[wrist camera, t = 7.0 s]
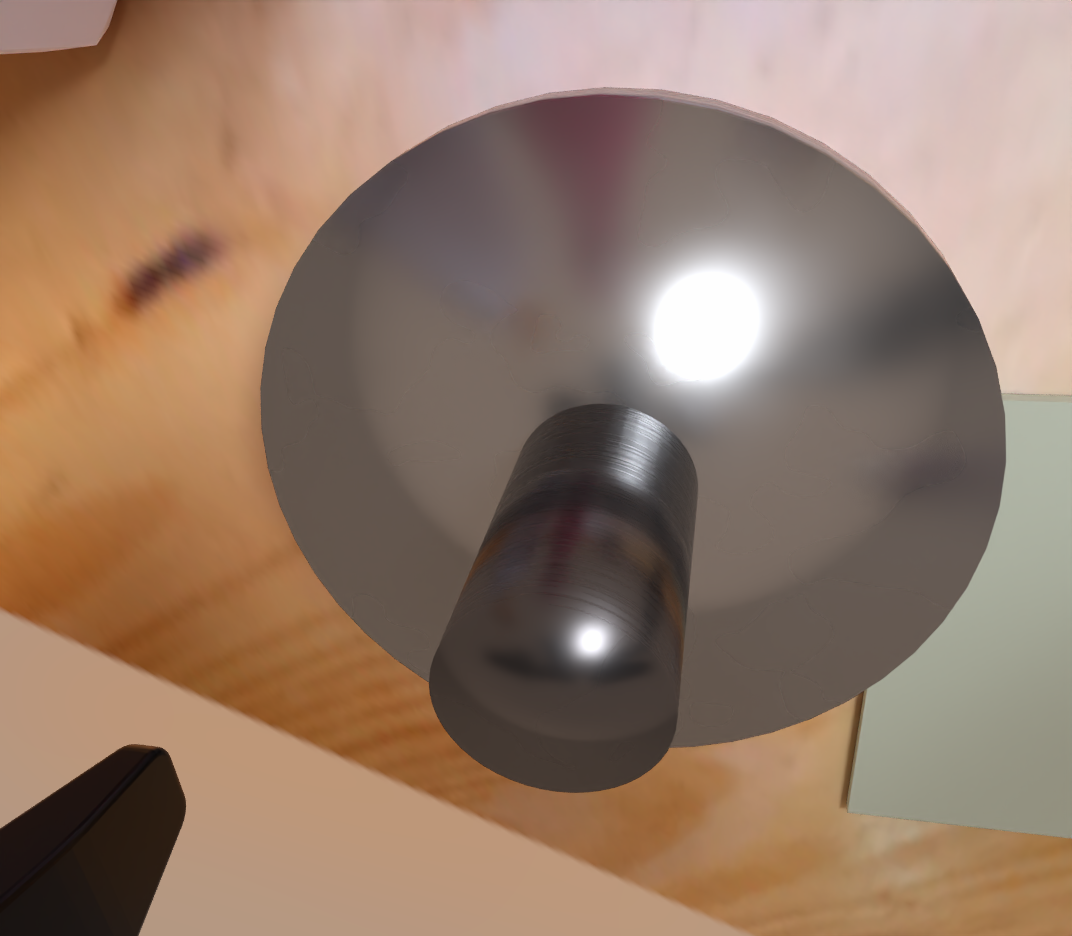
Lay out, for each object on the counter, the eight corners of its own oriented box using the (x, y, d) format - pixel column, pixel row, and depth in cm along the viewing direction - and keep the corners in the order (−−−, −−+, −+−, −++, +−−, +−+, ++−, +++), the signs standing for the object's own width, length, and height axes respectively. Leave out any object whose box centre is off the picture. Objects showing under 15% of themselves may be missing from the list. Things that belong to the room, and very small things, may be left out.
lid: (1077, 73, 12) (1306, 190, 7) (929, 748, 18) (996, 1064, 13) (210, 99, 14) (-75, 201, 9) (340, 687, 20) (209, 936, 15)
